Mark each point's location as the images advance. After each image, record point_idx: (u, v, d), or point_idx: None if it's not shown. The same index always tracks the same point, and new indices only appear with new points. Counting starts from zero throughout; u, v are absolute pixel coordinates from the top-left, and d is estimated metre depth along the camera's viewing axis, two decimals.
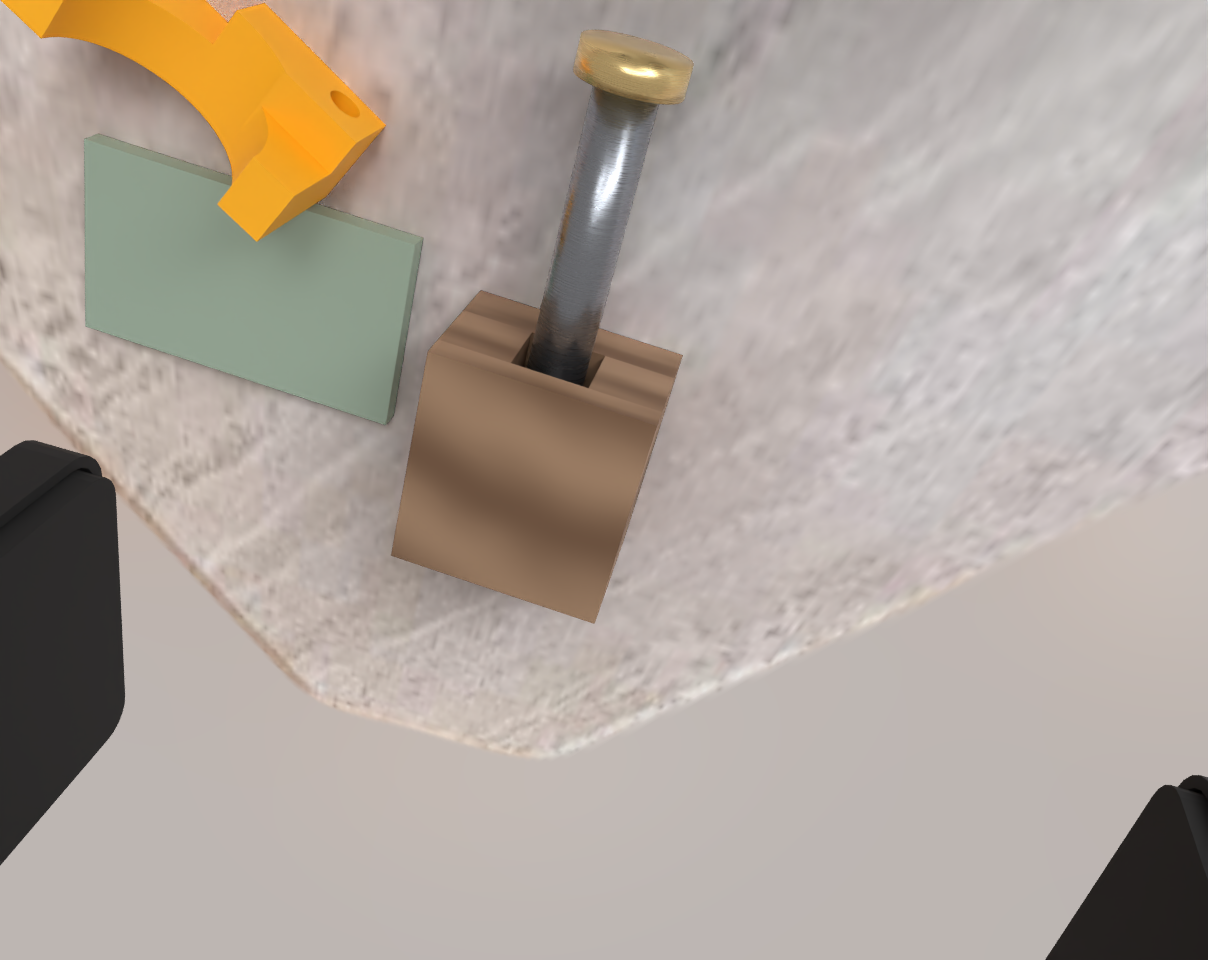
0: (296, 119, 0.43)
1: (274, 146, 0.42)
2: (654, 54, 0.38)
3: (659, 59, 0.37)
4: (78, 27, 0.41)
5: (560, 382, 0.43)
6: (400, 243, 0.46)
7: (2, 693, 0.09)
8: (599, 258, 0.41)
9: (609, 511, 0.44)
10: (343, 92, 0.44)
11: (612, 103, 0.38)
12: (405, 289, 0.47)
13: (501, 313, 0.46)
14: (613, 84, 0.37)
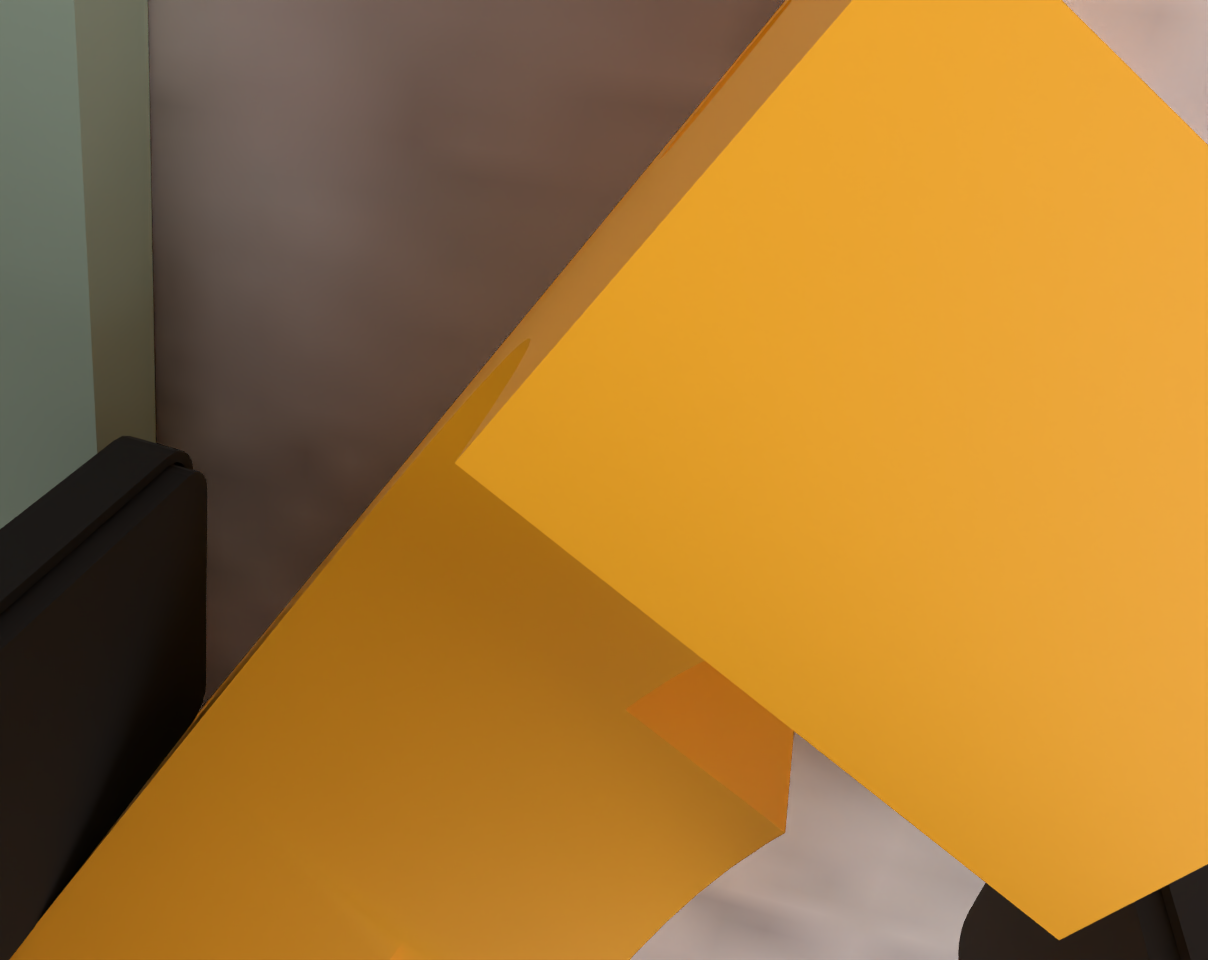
0: None
1: None
2: None
3: None
4: None
5: None
6: None
7: (106, 678, 0.09)
8: None
9: None
10: None
11: None
12: None
13: None
14: None
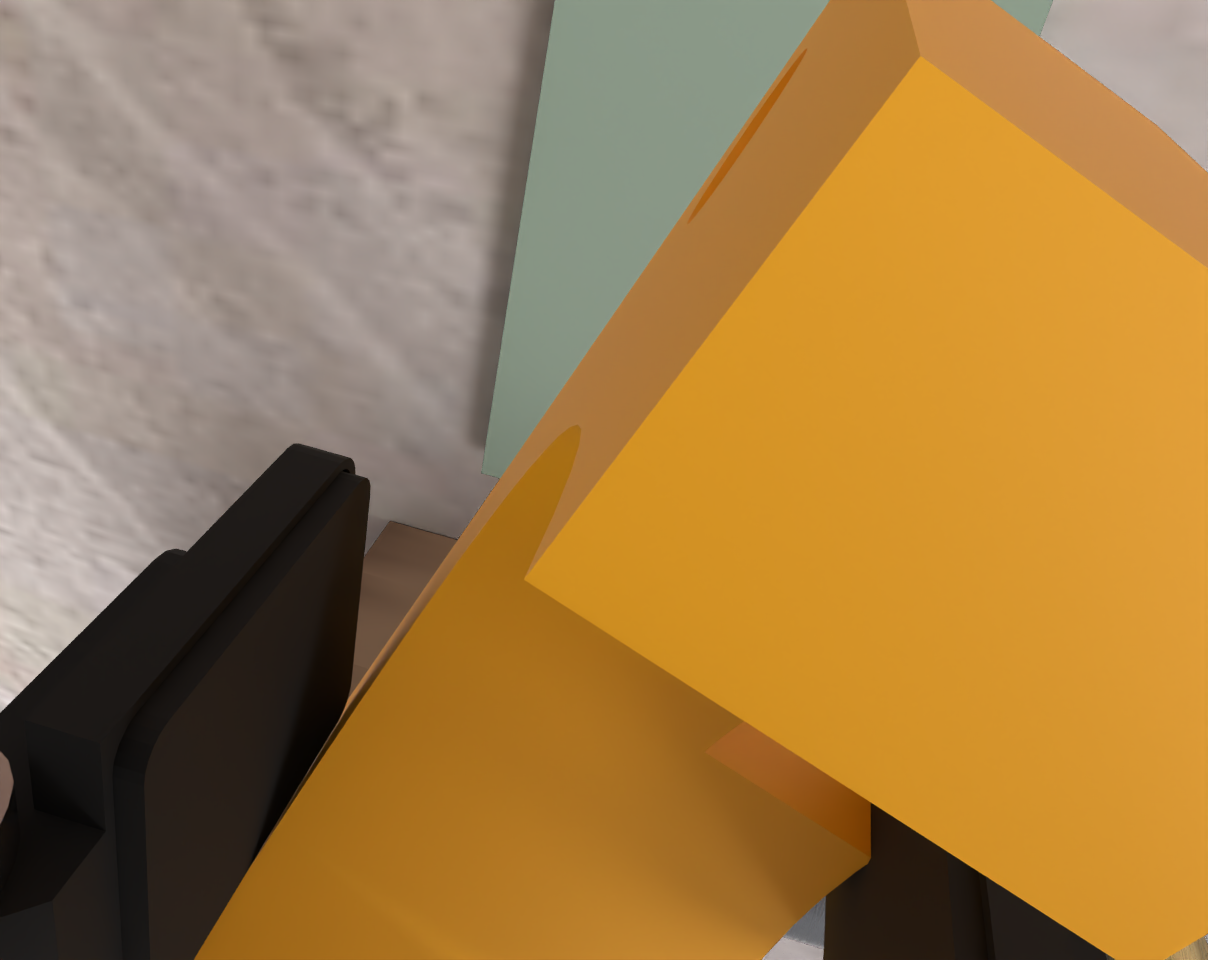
0: None
1: None
2: None
3: None
4: None
5: None
6: None
7: (289, 676, 0.09)
8: None
9: None
10: None
11: None
12: None
13: None
14: None
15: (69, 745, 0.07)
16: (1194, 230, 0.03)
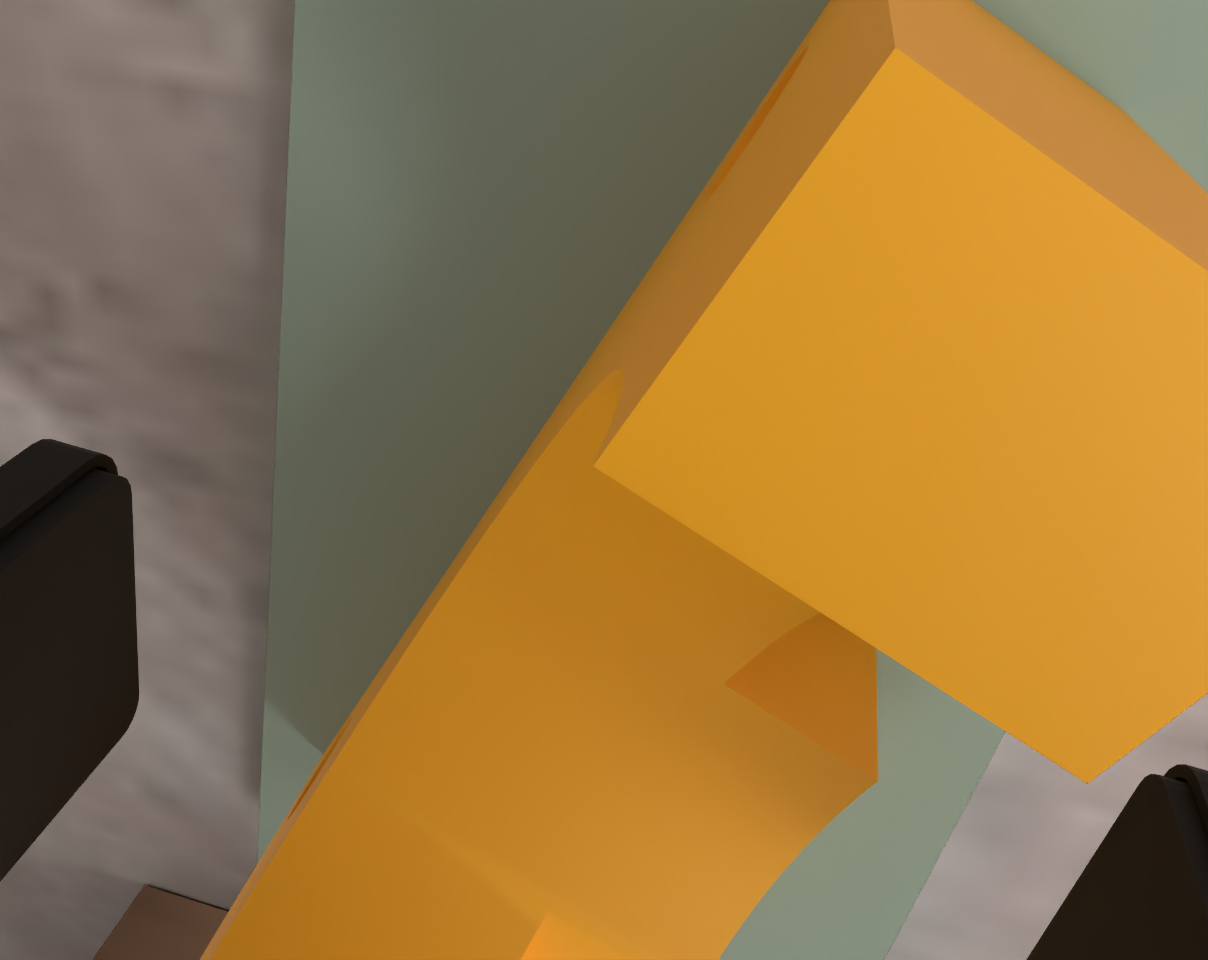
0: None
1: None
2: None
3: None
4: None
5: None
6: None
7: (20, 690, 0.09)
8: None
9: None
10: None
11: None
12: None
13: None
14: None
15: None
16: (1114, 181, 0.04)
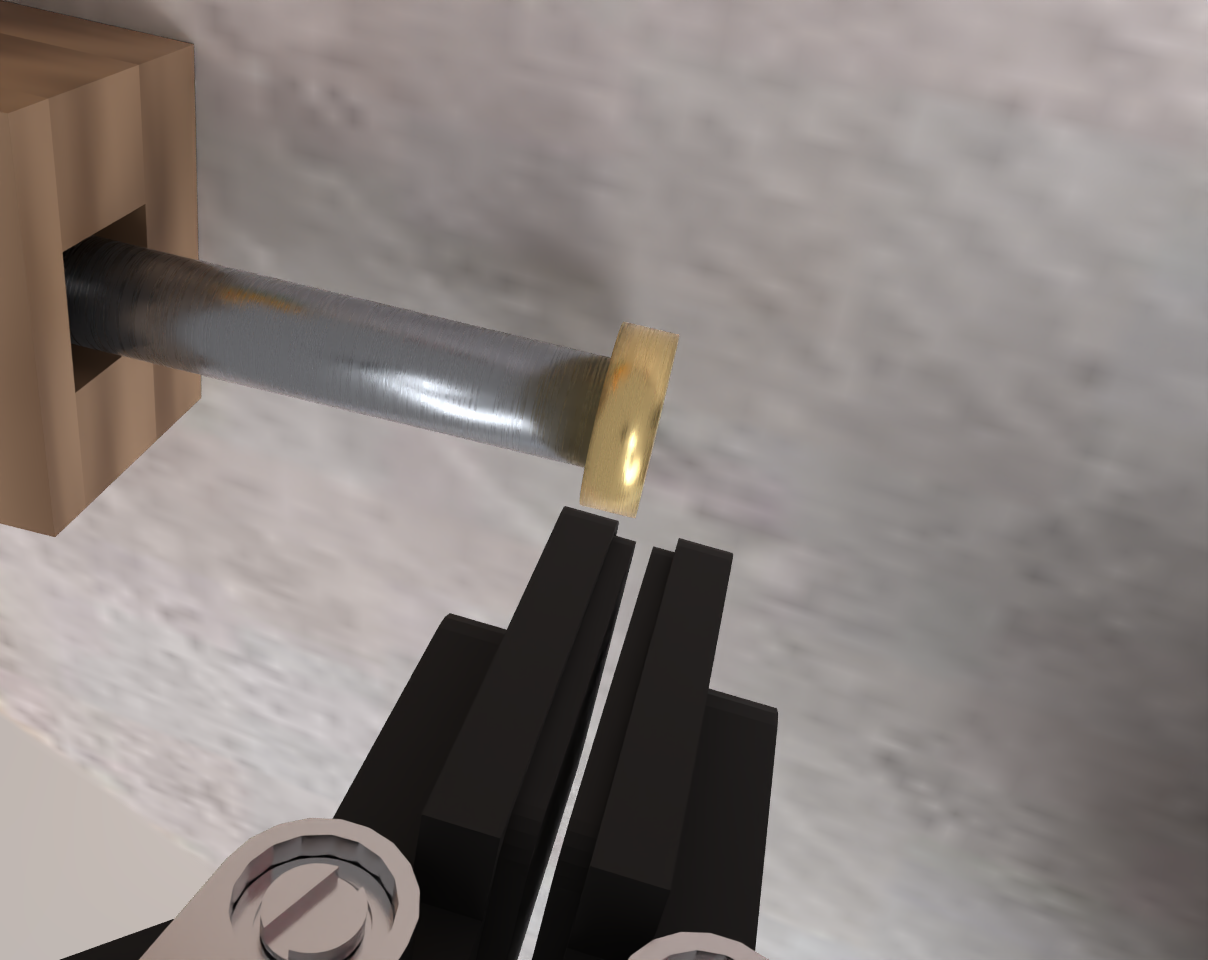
0: None
1: None
2: None
3: None
4: None
5: (63, 352, 0.23)
6: None
7: (575, 744, 0.09)
8: (310, 396, 0.23)
9: None
10: None
11: (570, 425, 0.22)
12: None
13: (161, 124, 0.24)
14: (601, 453, 0.22)
15: (465, 839, 0.07)
16: None
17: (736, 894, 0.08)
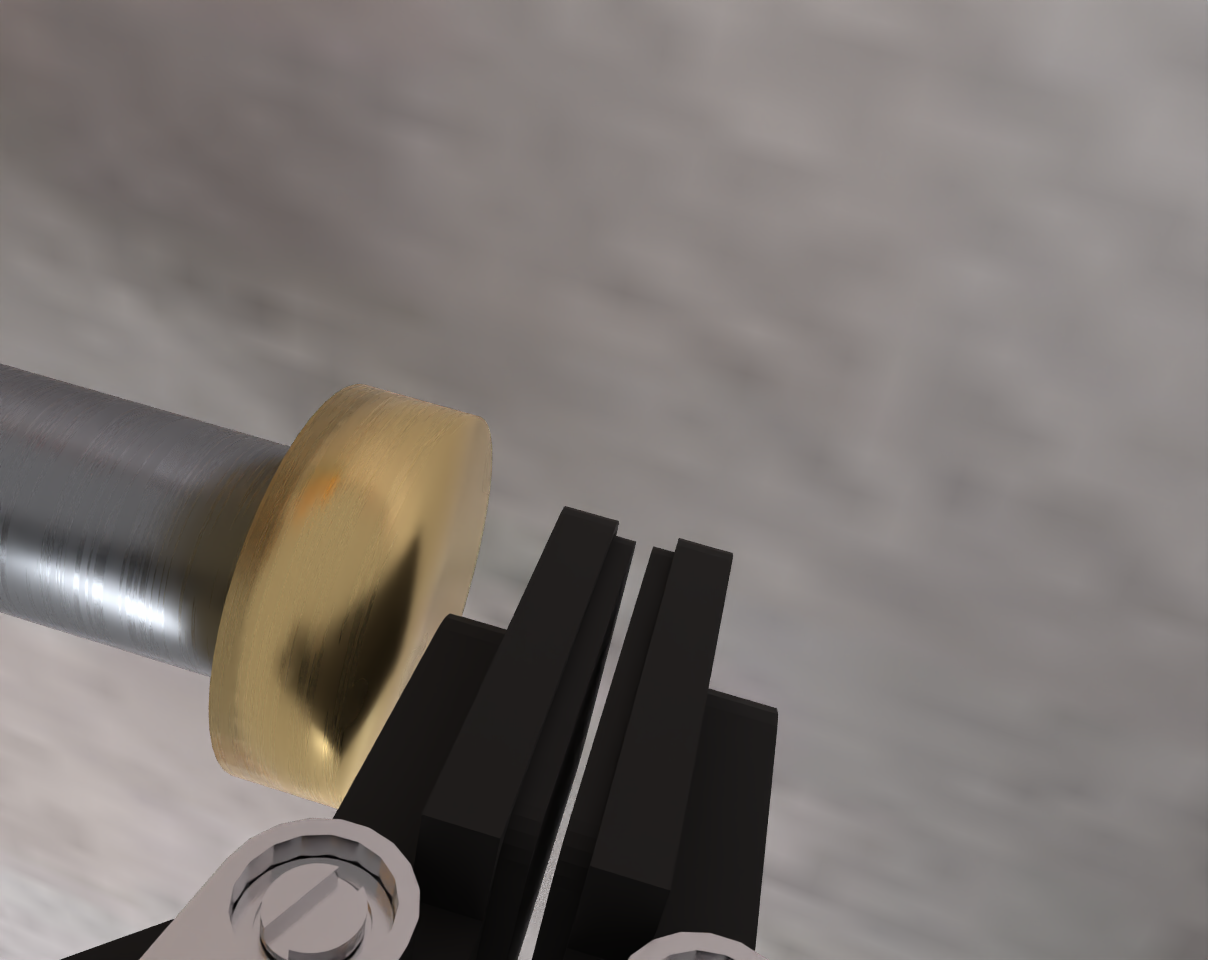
0: None
1: None
2: (416, 664, 0.11)
3: None
4: None
5: None
6: None
7: (575, 744, 0.09)
8: None
9: None
10: None
11: (203, 615, 0.10)
12: None
13: None
14: (241, 696, 0.09)
15: (465, 839, 0.07)
16: None
17: (736, 894, 0.08)
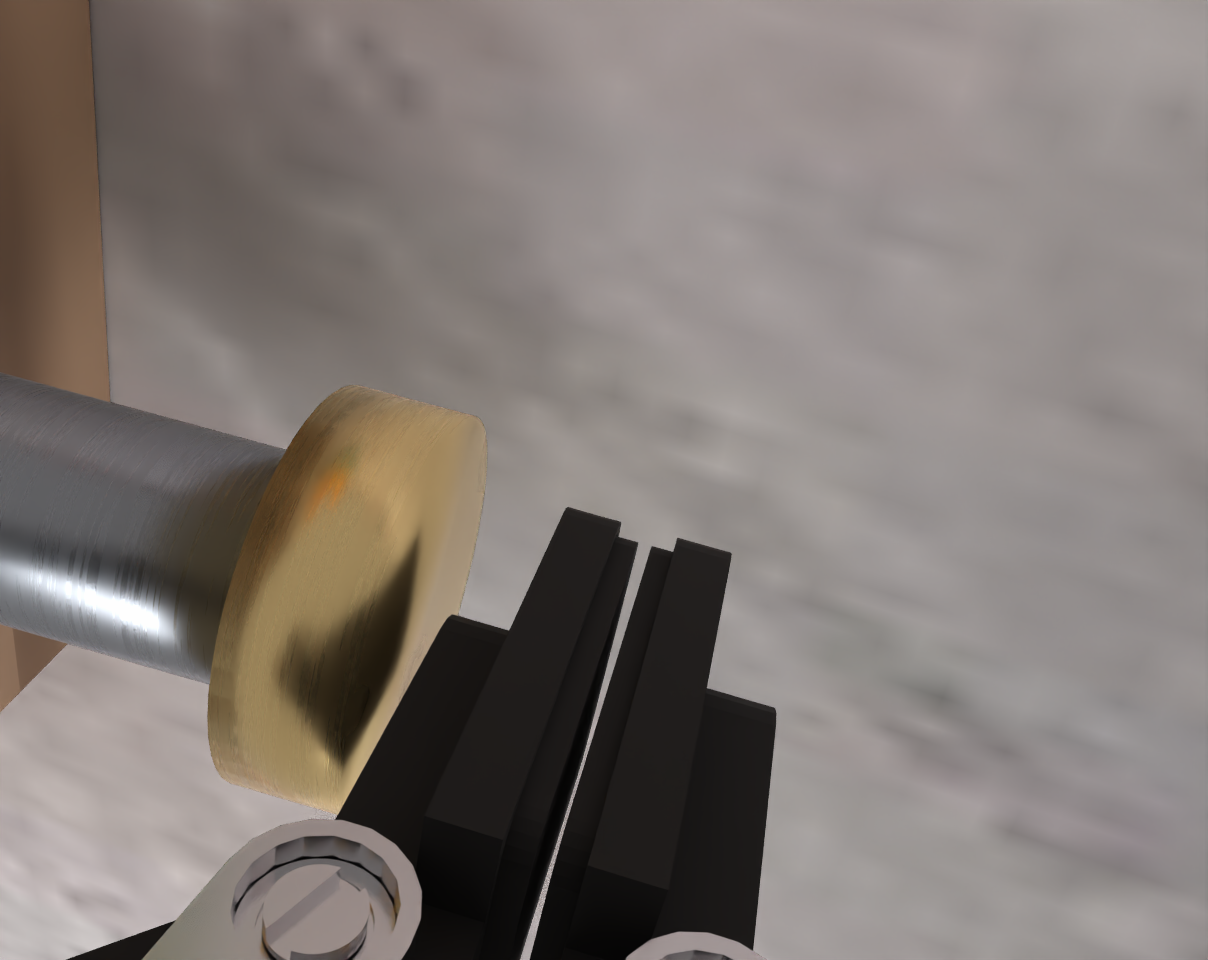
0: None
1: None
2: (414, 666, 0.11)
3: None
4: None
5: None
6: None
7: (577, 745, 0.09)
8: None
9: None
10: None
11: (200, 622, 0.10)
12: None
13: (4, 98, 0.12)
14: (240, 705, 0.09)
15: (467, 840, 0.07)
16: None
17: (735, 892, 0.08)
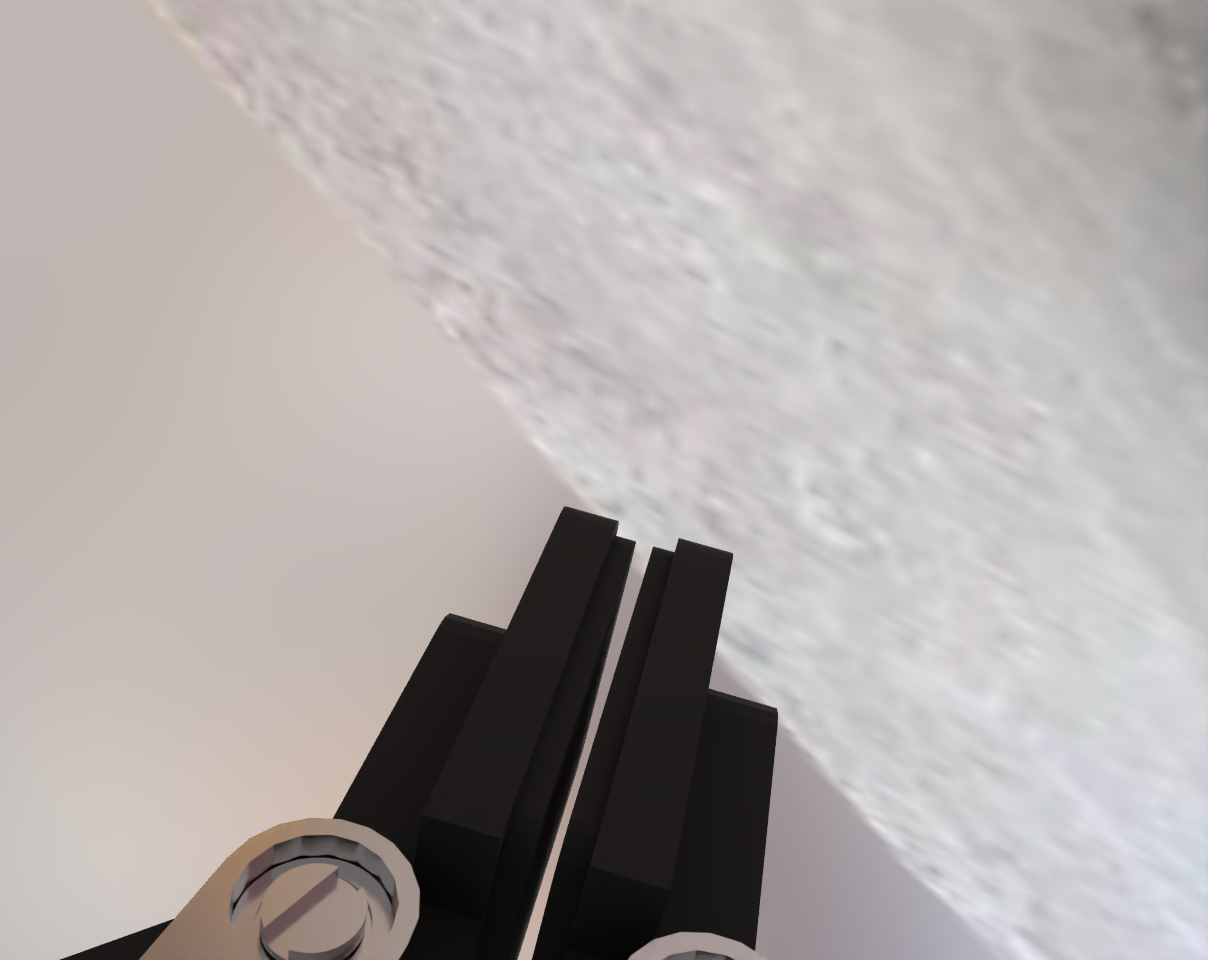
0: None
1: None
2: None
3: None
4: None
5: None
6: None
7: (575, 744, 0.09)
8: None
9: None
10: None
11: None
12: None
13: None
14: None
15: (465, 839, 0.07)
16: None
17: (736, 894, 0.08)
